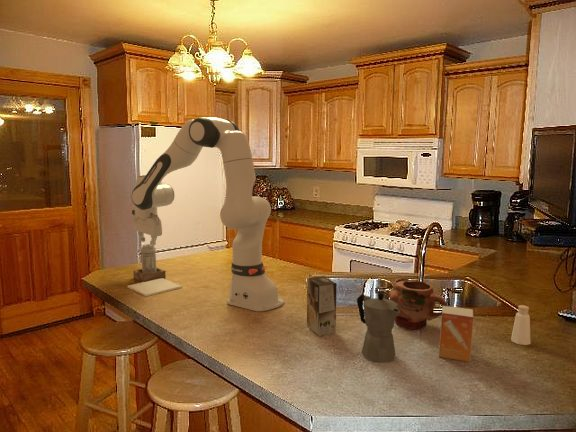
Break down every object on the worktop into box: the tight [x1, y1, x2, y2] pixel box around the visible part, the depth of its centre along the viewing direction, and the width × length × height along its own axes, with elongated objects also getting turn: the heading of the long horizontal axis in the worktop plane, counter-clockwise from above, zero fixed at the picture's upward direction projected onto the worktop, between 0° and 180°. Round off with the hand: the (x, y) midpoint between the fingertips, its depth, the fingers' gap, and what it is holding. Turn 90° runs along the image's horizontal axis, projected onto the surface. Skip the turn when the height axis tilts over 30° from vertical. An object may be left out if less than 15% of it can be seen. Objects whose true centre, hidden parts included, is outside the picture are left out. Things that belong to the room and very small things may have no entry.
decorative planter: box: [388, 280, 448, 331], centre depth 141 cm, size 20×12×14 cm, turn 52°
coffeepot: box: [356, 292, 400, 363], centre depth 121 cm, size 15×9×18 cm, turn 35°
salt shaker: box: [510, 304, 531, 346], centre depth 130 cm, size 5×5×11 cm
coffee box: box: [306, 275, 337, 337], centre depth 138 cm, size 9×6×16 cm
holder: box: [132, 266, 167, 283], centre depth 194 cm, size 10×10×4 cm
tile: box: [127, 278, 183, 297], centre depth 181 cm, size 16×16×1 cm
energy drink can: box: [140, 243, 157, 274], centre depth 193 cm, size 6×6×15 cm
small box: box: [438, 305, 474, 363], centre depth 121 cm, size 8×6×13 cm
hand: (147, 243), depth 192 cm, fingers open, 8 cm apart
